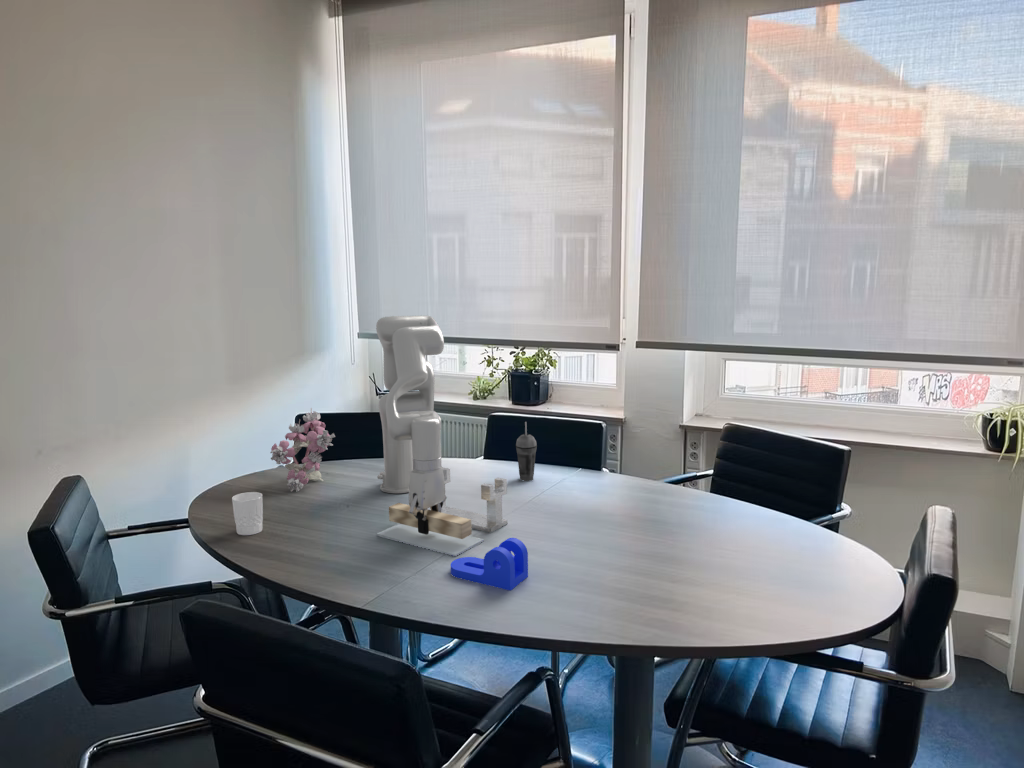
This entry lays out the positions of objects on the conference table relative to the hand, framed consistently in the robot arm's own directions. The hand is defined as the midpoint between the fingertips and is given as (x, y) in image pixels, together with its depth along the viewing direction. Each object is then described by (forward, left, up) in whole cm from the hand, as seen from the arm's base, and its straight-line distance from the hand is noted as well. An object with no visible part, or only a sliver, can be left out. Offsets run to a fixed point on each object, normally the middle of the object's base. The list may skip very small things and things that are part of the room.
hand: (429, 529), depth 193 cm
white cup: (-46, -22, -3) cm, 51 cm away
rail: (0, 0, +1) cm, 1 cm away
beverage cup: (-7, +59, -3) cm, 59 cm away
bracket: (+26, -11, -3) cm, 29 cm away
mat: (0, 0, -2) cm, 2 cm away
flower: (-66, +14, -3) cm, 67 cm away
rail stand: (0, +16, -2) cm, 16 cm away
